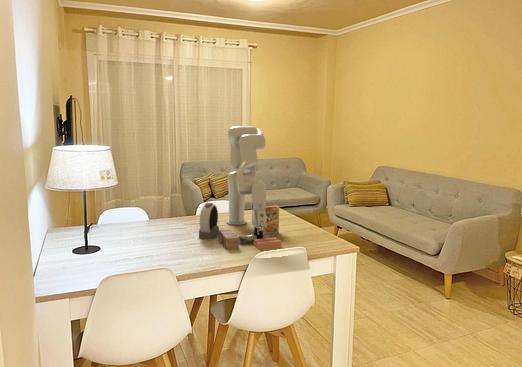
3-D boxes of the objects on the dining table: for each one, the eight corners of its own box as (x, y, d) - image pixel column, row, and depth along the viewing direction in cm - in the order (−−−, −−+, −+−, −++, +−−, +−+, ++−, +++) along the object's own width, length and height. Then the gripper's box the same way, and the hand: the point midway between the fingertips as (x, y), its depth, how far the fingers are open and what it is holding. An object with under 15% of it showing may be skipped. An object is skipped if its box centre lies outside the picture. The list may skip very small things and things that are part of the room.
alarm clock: (213, 240, 210) (213, 207, 207) (195, 239, 212) (194, 205, 209) (222, 232, 226) (222, 200, 222) (205, 230, 227) (205, 199, 224)
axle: (240, 245, 205) (241, 238, 204) (238, 241, 209) (238, 234, 207) (276, 241, 212) (277, 235, 211) (273, 237, 215) (274, 231, 214)
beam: (218, 239, 211) (218, 229, 210) (229, 238, 214) (229, 228, 213) (226, 249, 197) (226, 238, 196) (238, 248, 199) (238, 237, 198)
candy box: (263, 234, 223) (264, 207, 220) (261, 232, 227) (262, 205, 224) (278, 233, 225) (279, 206, 223) (276, 231, 229) (277, 204, 226)
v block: (253, 244, 205) (253, 238, 205) (274, 242, 209) (275, 236, 209) (259, 250, 197) (259, 244, 196) (281, 247, 201) (281, 241, 200)
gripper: (271, 209, 201) (270, 244, 203) (259, 202, 216) (259, 235, 219) (257, 210, 198) (257, 245, 201) (246, 203, 213) (246, 236, 216)
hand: (258, 239), depth 210 cm, fingers closed on axle, 4 cm apart
